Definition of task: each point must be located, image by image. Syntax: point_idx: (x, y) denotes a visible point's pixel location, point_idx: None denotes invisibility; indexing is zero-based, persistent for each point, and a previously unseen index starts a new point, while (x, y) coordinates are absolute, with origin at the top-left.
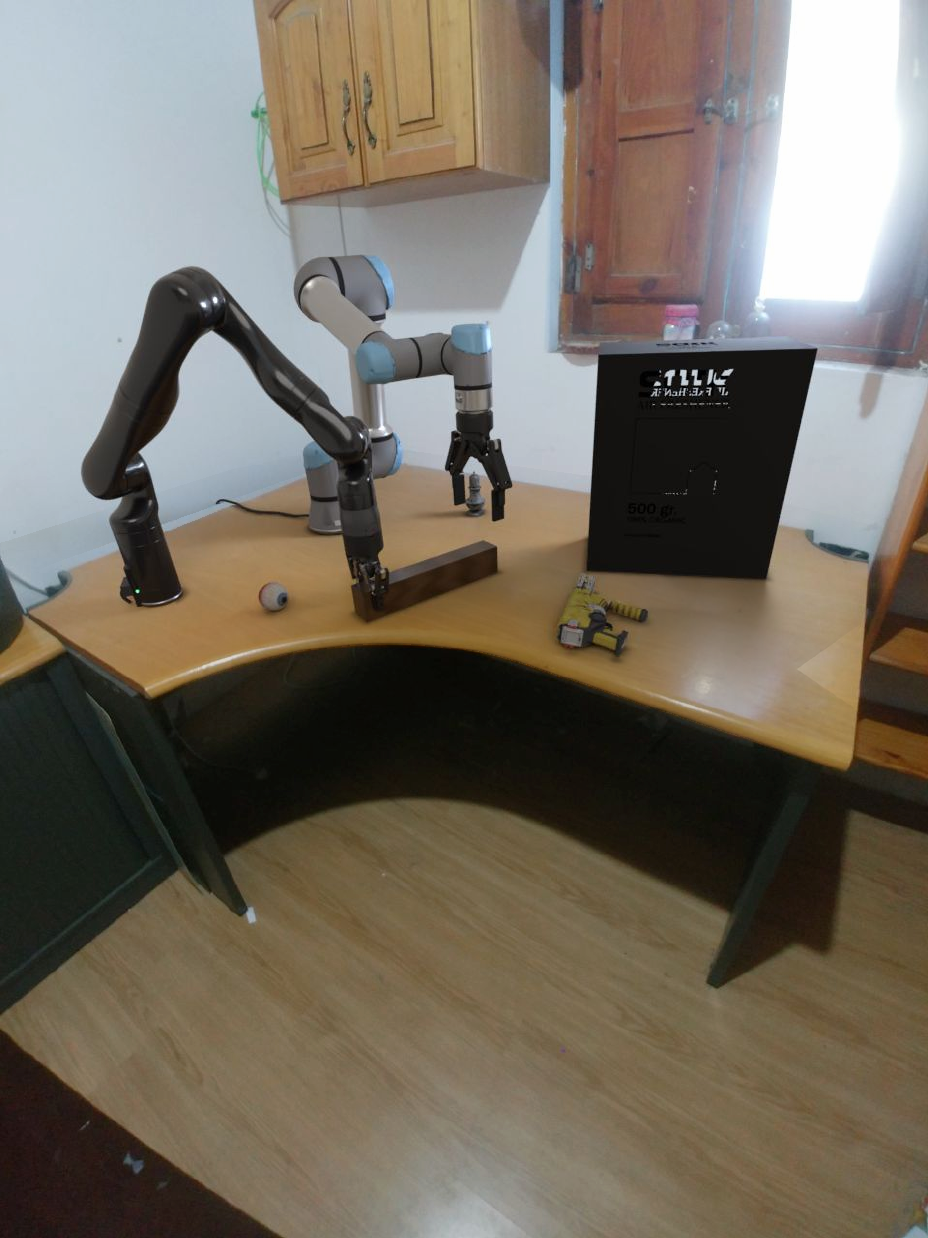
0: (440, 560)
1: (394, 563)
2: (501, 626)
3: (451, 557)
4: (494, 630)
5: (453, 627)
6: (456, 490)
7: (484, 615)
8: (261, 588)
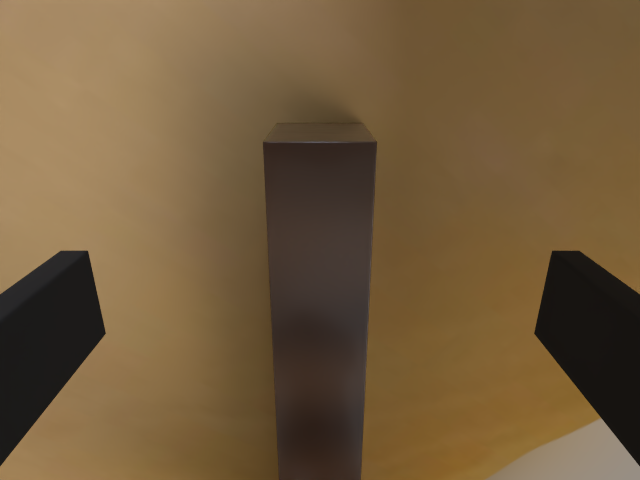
0: (321, 392)
1: None
2: None
3: (327, 352)
4: None
5: (524, 418)
6: (32, 407)
7: None
8: None
